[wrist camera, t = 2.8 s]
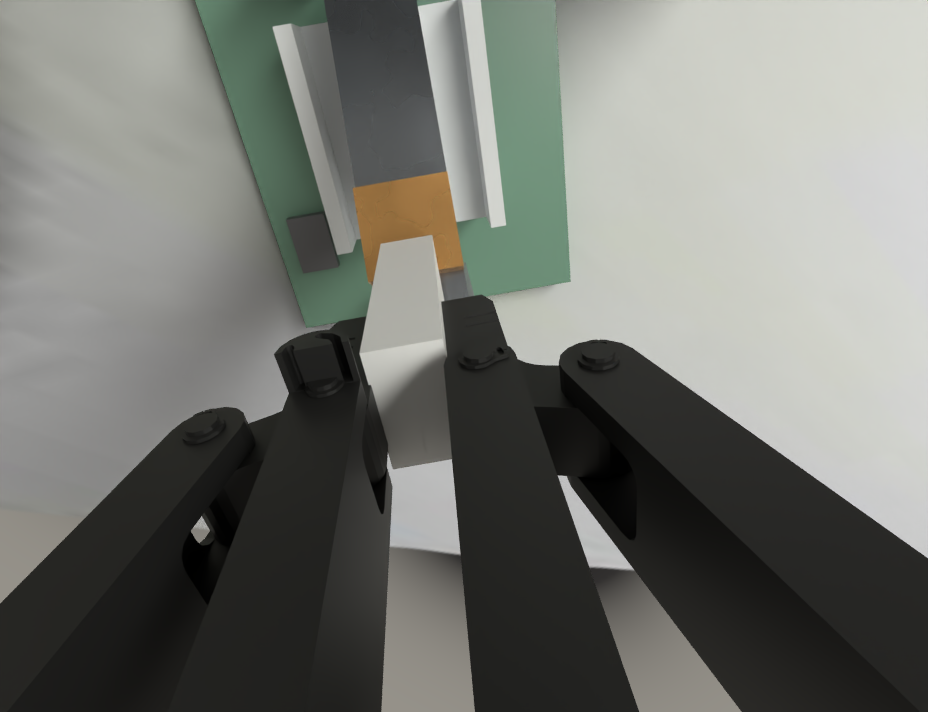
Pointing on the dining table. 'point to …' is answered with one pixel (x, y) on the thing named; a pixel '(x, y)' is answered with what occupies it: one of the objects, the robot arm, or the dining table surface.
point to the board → (514, 136)
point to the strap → (393, 133)
